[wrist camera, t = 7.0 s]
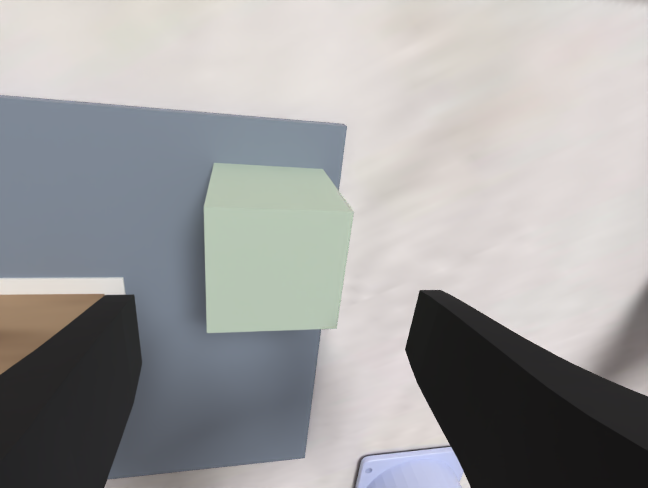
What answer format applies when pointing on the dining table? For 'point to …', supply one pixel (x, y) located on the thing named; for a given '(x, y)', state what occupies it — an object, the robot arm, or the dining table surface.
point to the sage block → (274, 248)
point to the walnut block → (35, 321)
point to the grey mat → (159, 265)
